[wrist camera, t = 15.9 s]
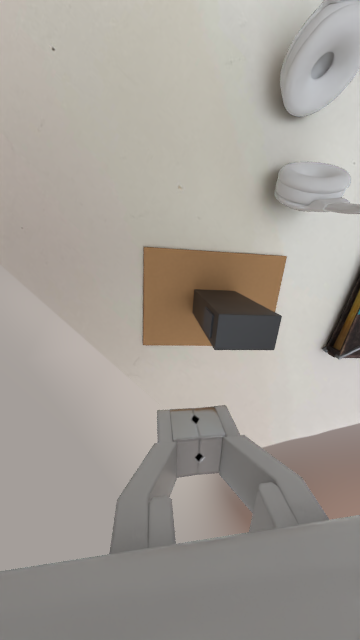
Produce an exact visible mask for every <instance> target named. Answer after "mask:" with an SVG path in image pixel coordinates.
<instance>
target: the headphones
mask: <svg viewBox="0 0 360 640" xmlns="http://www.w3.org/2000/svg"><path fill="white" fill-rule="evenodd" d="M359 69H360V0H324V1H323V2H322V3H321V5H320V6H319V7H318V8H317V9H316V10H315V12H314V13H313V14H312V15H311V16H310V17H309V18H308V20H307V21H306V22H305V23H304V25H303V26H302V27H301V29H300V30H299V32H298V33H297V35H296V36H295V38H294V40H293V41H292V43H291V45H290V47H289V49H288V51H287V53H286V56H285V59H284V62H283V65H282V69H281V74H280V86H281V92H282V96H283V103H284V106H285V108H286V110H287V111H288V112H289V113H290V114H291V115H293V116H298V117H301V116H307V115H310V114H313V113H315V112H317V111H319V110H321V109H322V108H324V107H325V106H327V105H328V104H329V103H331V102H332V101H333V100H334V99H335V98H336V97H337V96H338V95H339V94H340V93H341V92H342V91H343V90H344V89H345V88H346V87H347V86H348V84H349V83H350V82H351V80H352V79H353V78H354V76H355V75H356V73H357V72H358V70H359ZM350 183H351V177H350V174H349V173H348V172H347V171H346V170H344V169H343V168H340V167H338V166H335V165H331V164H326V163H320V162H294V163H290V164H287V165H285V166H284V167H282V168H281V170H280V171H279V174H278V180H277V183H276V190H275V192H274V194H275V197H276V198H277V200H278V201H280V202H281V203H283V204H284V205H286V206H287V207H290V208H292V209H295V210H299V211H307V212H312V211H313V212H328V211H332V212H338V213H346V214H360V204H350V201H348V200H347V199H345V198H342V196H343V194H344V192H345V189H347V188H348V187H349V185H350Z"/></svg>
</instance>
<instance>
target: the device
mask: <svg viewBox="0 0 360 640" xmlns="http://www.w3.org/2000/svg"><path fill="white" fill-rule="evenodd" d="M192 313H193V315H194V316H195V318H196V320H197V321H198V323H199V325H200V326H201V328H202V330H203V331H204V333H205V335H206V336H207V338H208V340H209V341H210V343H211V345H212V346H213V348H214V350H274V348H275V344H276V339H277V335H278V330H279V326H280V322H281V317H282V316H281V315H279V314H277V313H275V312H273V311H271V310H270V309H268V308H266V307H264V306H262V305H260V304H258V303H257V302H255V301H253V300H251V299H249V298H247V297H245V296H243V295H242V294H240V293H238V292H236V291H227V290H203V289H194V299H193V311H192Z"/></svg>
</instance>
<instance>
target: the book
mask: <svg viewBox="0 0 360 640" xmlns="http://www.w3.org/2000/svg"><path fill="white" fill-rule="evenodd" d="M323 351H325V352H328V354H329V355H331V356H333V357H336V358H338V359H341V358H360V275H359V278H358V280H357V283H356V285H355V287H354V289H353V292H352V294H351V296H350V298H349V301H348V303H347V305H346V307H345V310H344V312H343V314H342V316H341V319H340V321H339V323H338V325H337V327H336V329H335V331H334V333H333V335H332V337H331V339H330V341H329V343H328V345H327V347H325V348H323Z"/></svg>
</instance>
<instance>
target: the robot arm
mask: <svg viewBox="0 0 360 640" xmlns="http://www.w3.org/2000/svg"><path fill="white" fill-rule="evenodd" d="M157 431H158V432H157V434H158V443H155V444H154V445H153V447H152V448H151V450H150V451H149V453H148V454H147V456H146V457H145V459H144V460H143V462H142V463H141V465H140V466H139V468H138V469H137V471H136V473H135V474H134V475H133V477H132V478H131V480H130V482H129V483H128V484H127V486H126V487H125V489H124V490H123V492H122V493H121V495H120V497H119V498H118V500H117V504H116V511H115V518H114V526H113V533H112V540H111V547H110V554H108V555H102V556H95V557H89V558H83V559H76V560H70V561H63V562H58V563H51V564H44V565H38V566H31V567H25V568H18V569H12V570H5V571H0V640H360V515H357V516H352V517H345V518H339V519H332V520H329V518H328V517H327V515H326V514H325V513H324V511H323V509H322V508H321V506H320V505H319V503H318V502H317V500H316V499H315V497H314V495H313V494H312V492H311V491H310V489H309V488H308V487H307V485H306V483H305V482H304V480H303V479H302V477H300V476H299V475H298V474H296V473H295V472H294V471H292V470H291V469H289V468H288V467H287V466H285V465H284V464H283V463H281V462H280V461H278V460H277V459H276V458H274V457H273V456H272V455H270V454H269V453H268V452H266V451H265V450H264V449H262V448H261V447H260V446H258V445H257V444H255V443H254V442H253V441H251V440H250V439H249V438H247V437H246V436H245V435H240V433H239V431H238V429H237V427H236V425H235V423H234V421H233V419H232V417H231V415H230V413H229V411H228V409H227V407H226V406H225V405H222V406H214V407H201V408H188V409H169V410H158V411H157ZM211 473H219V474H220V476H221V477H222V478H223V479H224V480H225V481H226V483H227V484H228V485H229V486H230V487H231V489H232V490H233V491H234V492H235V493H236V494H237V496H238V497H239V498H240V499H241V500H242V501H243V503H244V504H245V505H246V506H247V507H248V509H249V510H250V511H251V512H252V513H253V516H252V521H251V525H250V530H249V532H248V533H242V534H236V535H230V536H223V537H217V538H210V539H204V540H198V541H191V542H185V543H179V544H176V542H175V531H174V520H173V510H172V499H171V498H169V497H170V494H171V492H172V489H173V487H174V484H175V482H176V478H178V477H184V476H191V475H198V474H211Z"/></svg>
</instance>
